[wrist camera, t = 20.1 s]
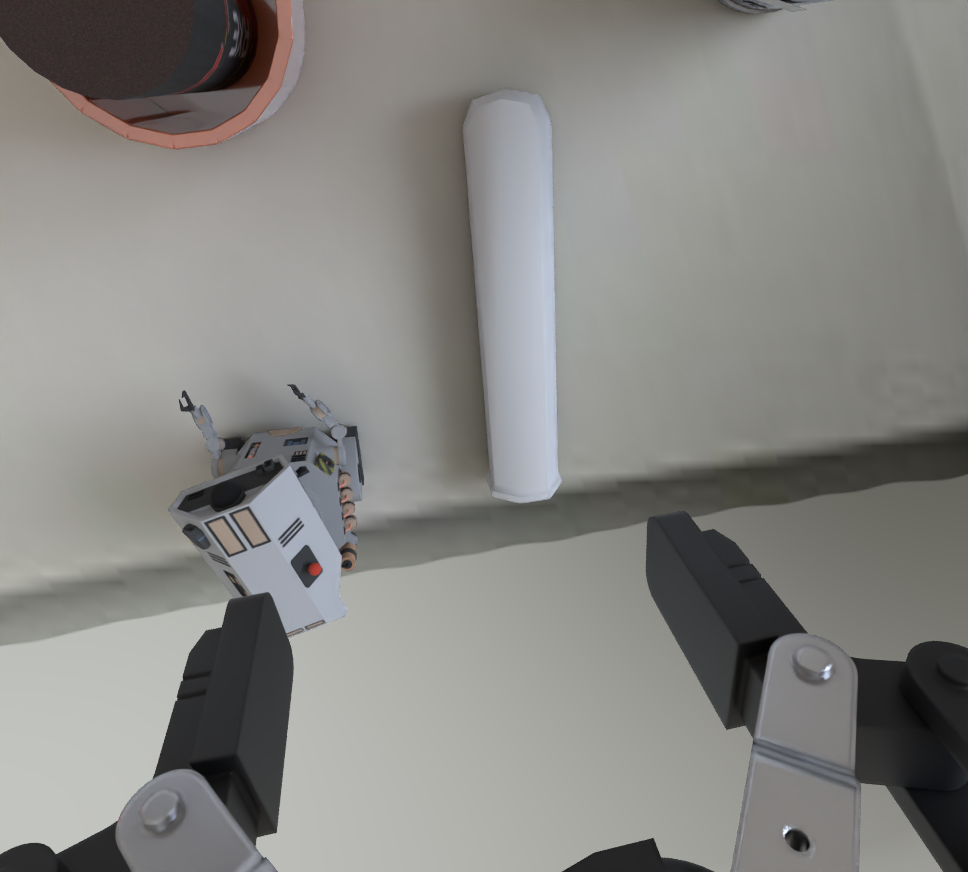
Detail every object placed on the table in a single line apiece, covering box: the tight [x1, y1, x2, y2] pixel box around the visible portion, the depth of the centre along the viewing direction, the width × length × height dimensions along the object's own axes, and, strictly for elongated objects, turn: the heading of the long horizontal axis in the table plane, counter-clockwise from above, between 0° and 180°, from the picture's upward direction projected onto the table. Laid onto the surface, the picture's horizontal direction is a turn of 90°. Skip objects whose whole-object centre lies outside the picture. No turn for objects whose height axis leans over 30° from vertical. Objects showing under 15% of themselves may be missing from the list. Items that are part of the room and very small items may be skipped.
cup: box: [49, 0, 305, 150], centre depth 28 cm, size 10×10×8 cm
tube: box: [463, 88, 561, 503], centre depth 40 cm, size 5×5×25 cm
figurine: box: [168, 385, 364, 638], centre depth 37 cm, size 9×12×15 cm
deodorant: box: [0, 0, 258, 100], centre depth 25 cm, size 6×6×15 cm
